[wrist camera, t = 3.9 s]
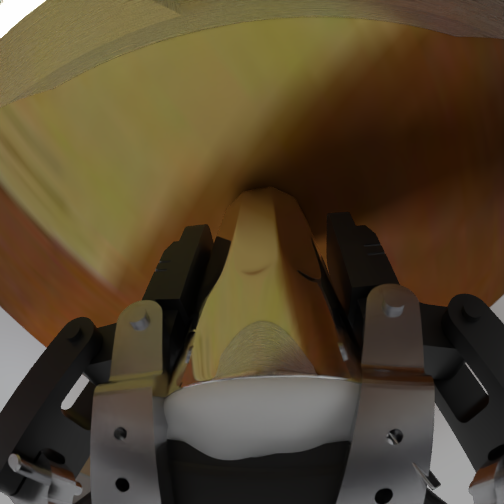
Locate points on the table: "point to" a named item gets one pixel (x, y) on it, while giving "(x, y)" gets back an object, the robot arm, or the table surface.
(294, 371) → the milkshake
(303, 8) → the panel
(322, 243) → the table surface
